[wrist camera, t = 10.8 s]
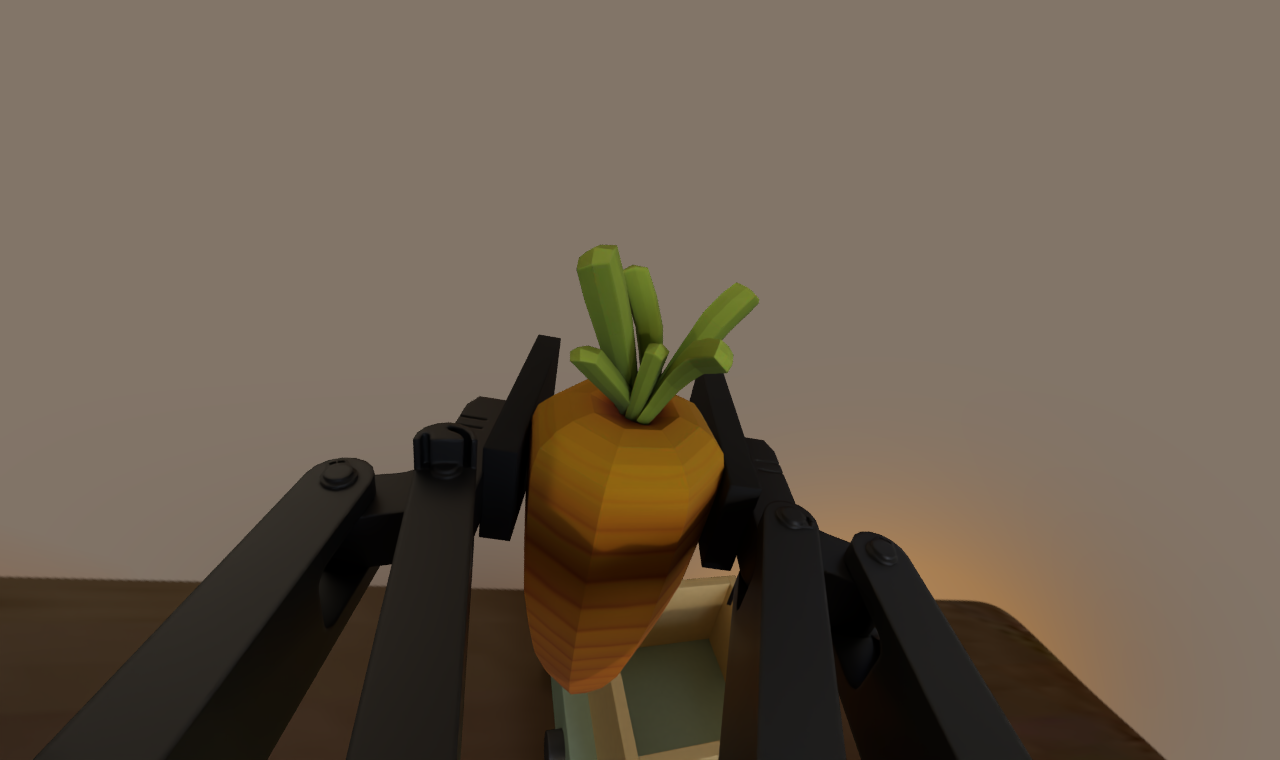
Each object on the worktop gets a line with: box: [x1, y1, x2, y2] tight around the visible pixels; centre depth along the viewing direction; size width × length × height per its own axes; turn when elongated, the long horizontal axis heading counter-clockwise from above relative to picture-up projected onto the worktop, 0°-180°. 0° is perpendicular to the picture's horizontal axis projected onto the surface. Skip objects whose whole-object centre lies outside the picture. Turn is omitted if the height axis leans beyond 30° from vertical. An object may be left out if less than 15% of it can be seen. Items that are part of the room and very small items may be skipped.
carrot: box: [524, 245, 759, 694], centre depth 13 cm, size 5×5×15 cm
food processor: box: [544, 576, 737, 760], centre depth 27 cm, size 13×12×10 cm
